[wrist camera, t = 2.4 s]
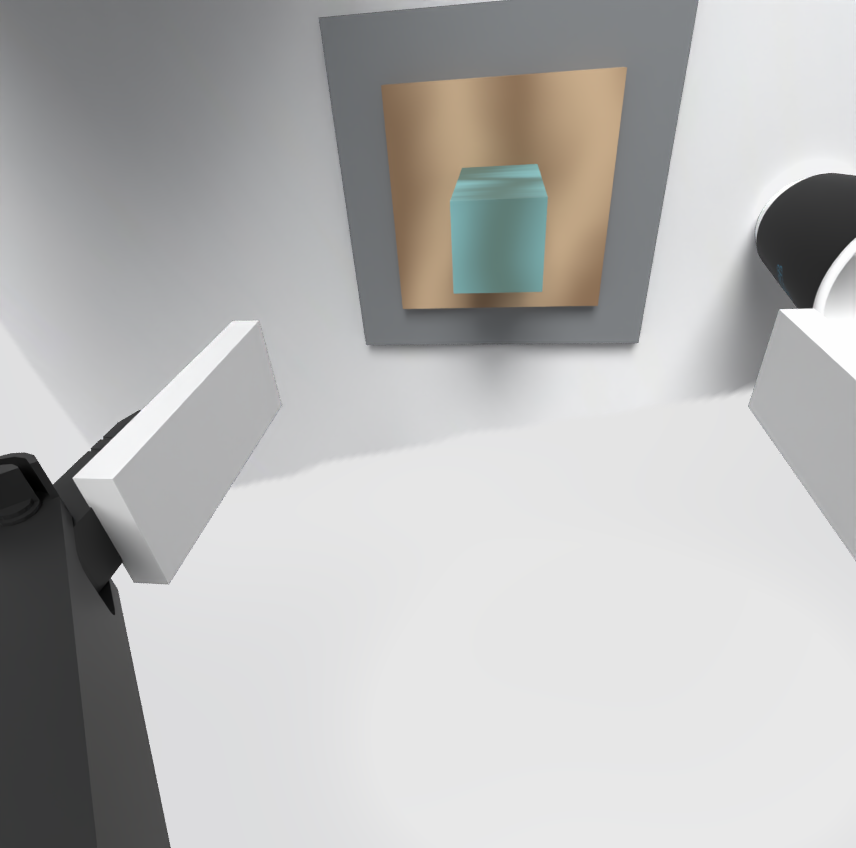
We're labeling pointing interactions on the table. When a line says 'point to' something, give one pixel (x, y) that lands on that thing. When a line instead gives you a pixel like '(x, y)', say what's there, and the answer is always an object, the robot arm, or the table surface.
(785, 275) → the dixie cup
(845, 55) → the table surface
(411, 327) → the mat
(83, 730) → the robot arm
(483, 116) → the lid
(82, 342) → the table surface
